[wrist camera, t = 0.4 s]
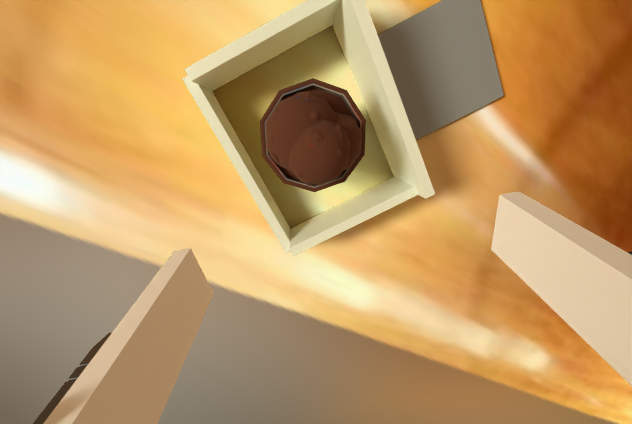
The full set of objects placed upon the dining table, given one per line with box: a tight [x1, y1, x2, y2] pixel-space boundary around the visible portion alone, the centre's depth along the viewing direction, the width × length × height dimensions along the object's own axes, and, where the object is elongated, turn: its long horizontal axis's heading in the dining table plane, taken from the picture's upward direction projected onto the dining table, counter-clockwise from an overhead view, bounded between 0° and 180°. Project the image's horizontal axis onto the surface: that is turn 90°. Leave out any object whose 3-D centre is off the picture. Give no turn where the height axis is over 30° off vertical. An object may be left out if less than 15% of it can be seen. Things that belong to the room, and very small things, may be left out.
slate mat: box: [378, 0, 504, 140], centre depth 34 cm, size 14×14×1 cm
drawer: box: [183, 0, 435, 256], centre depth 32 cm, size 23×19×9 cm
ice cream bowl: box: [260, 78, 366, 192], centre depth 29 cm, size 11×11×15 cm
